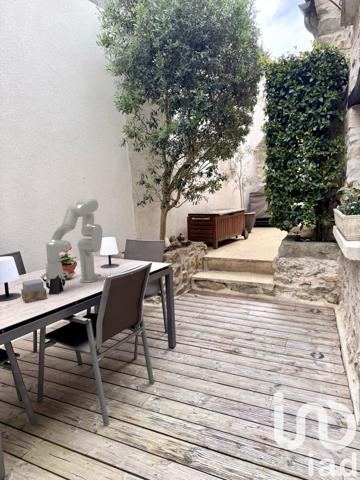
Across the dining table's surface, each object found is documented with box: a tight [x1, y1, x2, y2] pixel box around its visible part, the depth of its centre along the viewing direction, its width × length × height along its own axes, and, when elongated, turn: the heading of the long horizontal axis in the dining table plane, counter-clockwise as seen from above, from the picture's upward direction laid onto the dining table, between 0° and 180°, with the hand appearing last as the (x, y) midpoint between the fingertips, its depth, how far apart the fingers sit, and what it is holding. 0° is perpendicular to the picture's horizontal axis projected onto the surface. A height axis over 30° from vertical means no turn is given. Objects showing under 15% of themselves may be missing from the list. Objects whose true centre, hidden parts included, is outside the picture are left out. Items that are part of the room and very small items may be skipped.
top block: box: [21, 278, 45, 293], centre depth 184 cm, size 10×10×5 cm
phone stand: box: [48, 275, 65, 295], centre depth 196 cm, size 9×6×12 cm, turn 178°
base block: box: [20, 287, 48, 304], centre depth 185 cm, size 12×12×6 cm
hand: (56, 286), depth 196 cm, fingers open, 9 cm apart
